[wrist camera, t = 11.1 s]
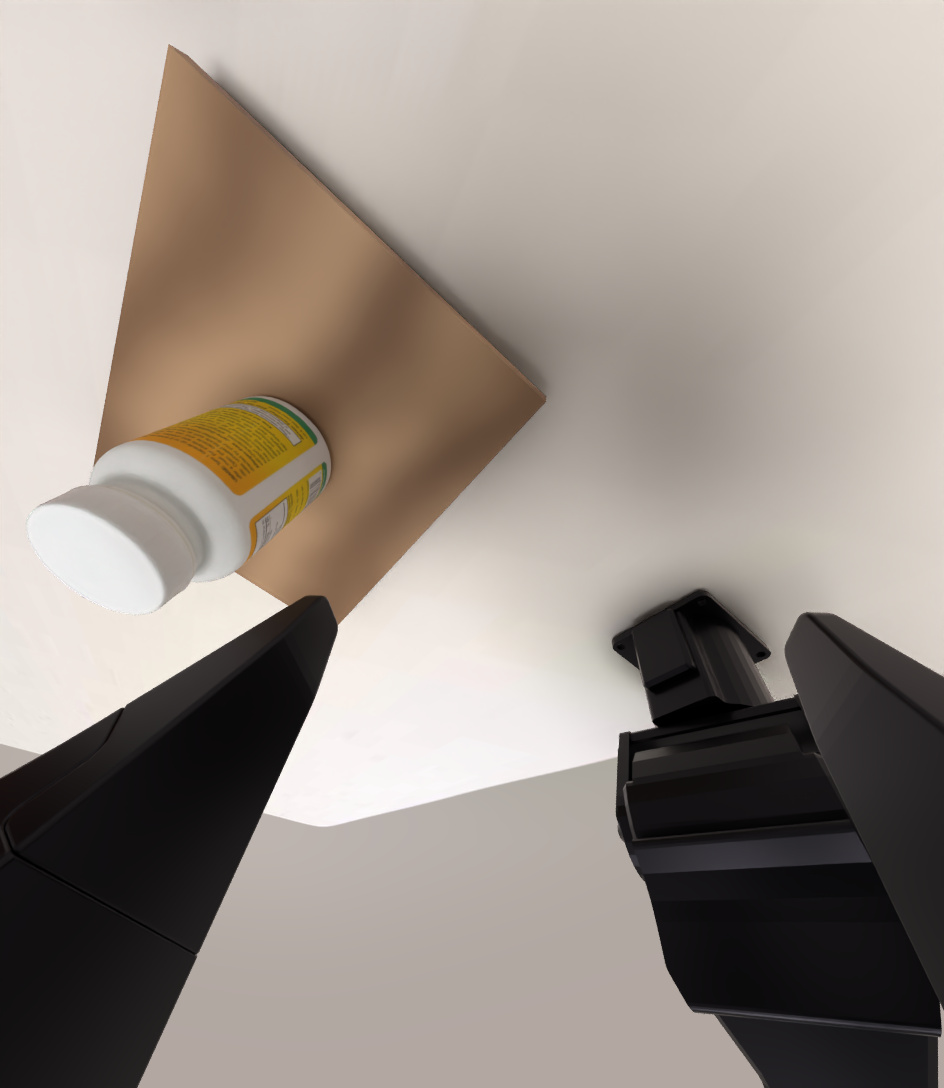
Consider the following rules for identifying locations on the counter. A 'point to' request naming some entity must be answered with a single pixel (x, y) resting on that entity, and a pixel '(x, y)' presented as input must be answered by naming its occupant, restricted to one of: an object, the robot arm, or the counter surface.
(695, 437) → the counter surface
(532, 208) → the counter surface
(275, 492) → the supplement bottle
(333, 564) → the peg shelf
